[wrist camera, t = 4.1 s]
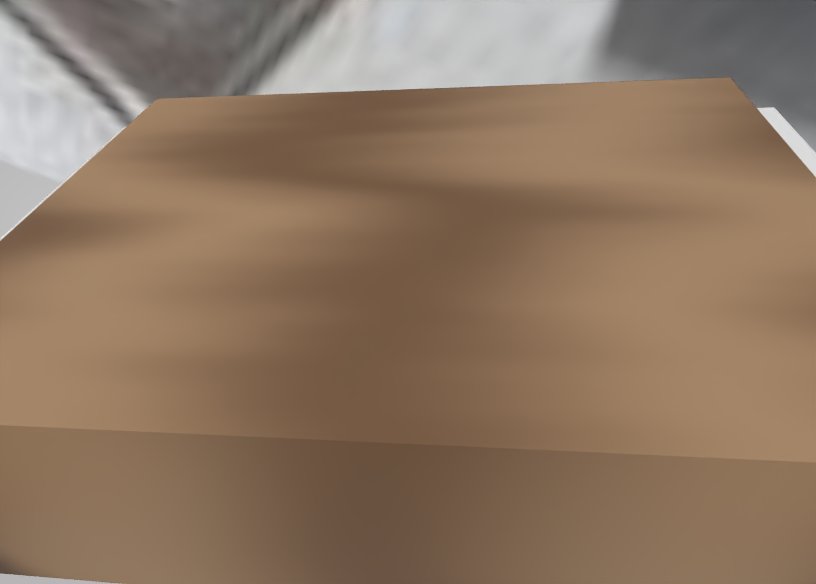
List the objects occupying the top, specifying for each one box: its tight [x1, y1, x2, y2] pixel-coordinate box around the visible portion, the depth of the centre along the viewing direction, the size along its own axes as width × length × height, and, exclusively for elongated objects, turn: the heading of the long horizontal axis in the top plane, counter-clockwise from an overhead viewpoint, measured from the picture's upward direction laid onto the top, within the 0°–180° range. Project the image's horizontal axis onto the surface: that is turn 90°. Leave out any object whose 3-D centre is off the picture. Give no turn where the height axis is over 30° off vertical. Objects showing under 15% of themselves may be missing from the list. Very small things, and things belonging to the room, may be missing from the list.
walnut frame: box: [0, 77, 816, 584], centre depth 9 cm, size 11×4×8 cm, turn 94°
